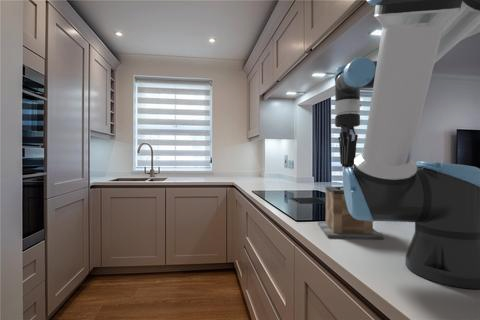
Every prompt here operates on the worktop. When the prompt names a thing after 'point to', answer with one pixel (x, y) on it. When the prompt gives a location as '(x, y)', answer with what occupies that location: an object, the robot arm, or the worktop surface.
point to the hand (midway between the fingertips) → (347, 186)
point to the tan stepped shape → (344, 219)
